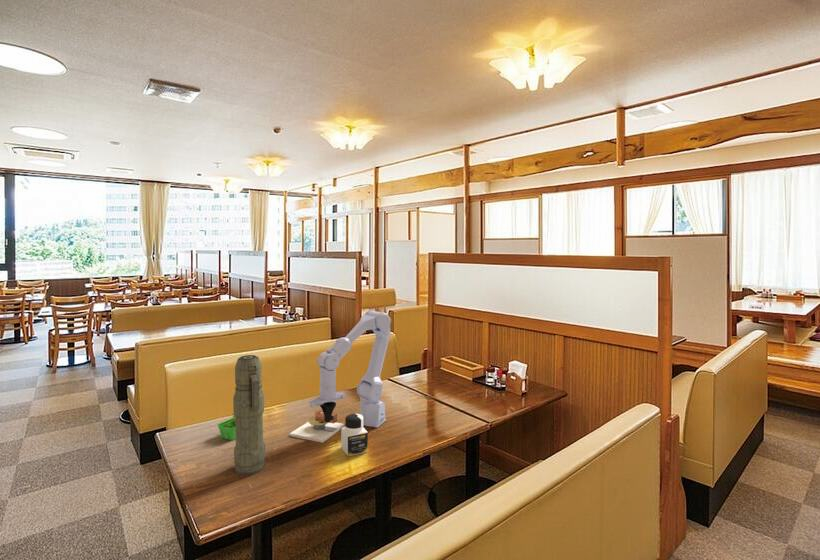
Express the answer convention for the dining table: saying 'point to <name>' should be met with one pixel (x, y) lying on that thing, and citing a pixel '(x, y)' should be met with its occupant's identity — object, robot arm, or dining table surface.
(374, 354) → the robot arm
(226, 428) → the fruit basket
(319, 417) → the lever handle
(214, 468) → the dining table surface
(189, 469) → the dining table surface
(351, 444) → the medicine bottle
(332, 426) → the board
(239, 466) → the thermos
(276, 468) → the dining table surface
